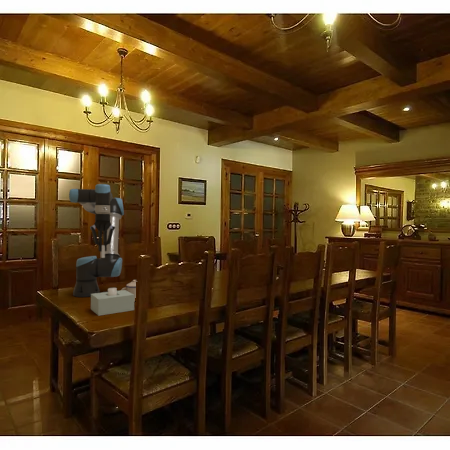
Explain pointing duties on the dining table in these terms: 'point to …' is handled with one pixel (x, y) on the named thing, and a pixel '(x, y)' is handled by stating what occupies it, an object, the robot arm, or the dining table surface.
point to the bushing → (112, 291)
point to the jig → (112, 302)
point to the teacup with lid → (131, 288)
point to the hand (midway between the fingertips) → (102, 257)
